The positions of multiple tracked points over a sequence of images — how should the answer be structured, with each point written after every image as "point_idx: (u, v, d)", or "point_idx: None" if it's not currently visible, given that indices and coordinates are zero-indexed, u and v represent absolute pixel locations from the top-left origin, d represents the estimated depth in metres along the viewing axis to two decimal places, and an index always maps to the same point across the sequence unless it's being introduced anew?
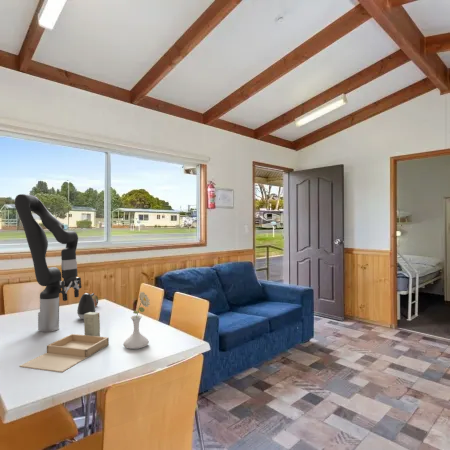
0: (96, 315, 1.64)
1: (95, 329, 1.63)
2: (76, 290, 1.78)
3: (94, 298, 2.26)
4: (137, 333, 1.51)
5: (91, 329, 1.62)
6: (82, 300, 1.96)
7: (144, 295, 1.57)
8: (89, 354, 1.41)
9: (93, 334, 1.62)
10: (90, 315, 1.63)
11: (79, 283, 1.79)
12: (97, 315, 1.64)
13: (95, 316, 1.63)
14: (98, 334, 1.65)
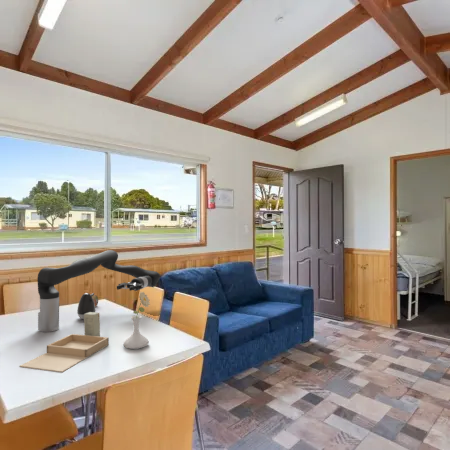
0: (96, 315, 1.64)
1: (95, 329, 1.63)
2: None
3: (94, 298, 2.26)
4: (137, 333, 1.51)
5: (91, 329, 1.62)
6: (82, 300, 1.96)
7: (144, 295, 1.57)
8: (89, 354, 1.41)
9: (93, 334, 1.62)
10: (90, 315, 1.63)
11: (139, 284, 1.96)
12: (97, 315, 1.64)
13: (95, 316, 1.63)
14: (98, 334, 1.65)
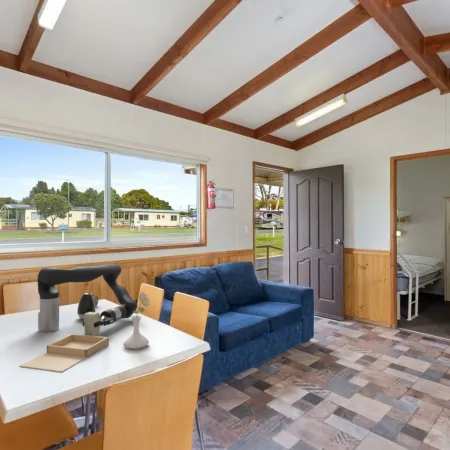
0: (96, 315, 1.64)
1: (95, 329, 1.63)
2: None
3: (94, 298, 2.26)
4: (137, 333, 1.51)
5: (91, 329, 1.62)
6: (82, 300, 1.96)
7: (144, 295, 1.57)
8: (89, 354, 1.41)
9: (93, 334, 1.62)
10: (90, 315, 1.63)
11: (107, 319, 1.68)
12: (97, 315, 1.64)
13: (95, 316, 1.63)
14: (98, 334, 1.65)
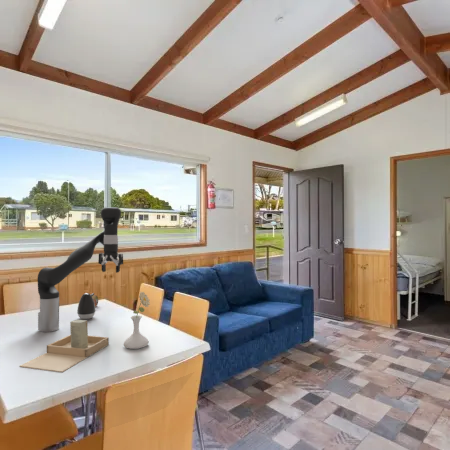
0: (83, 323, 1.48)
1: (83, 339, 1.48)
2: (104, 265, 1.85)
3: (94, 298, 2.26)
4: (137, 333, 1.51)
5: (78, 339, 1.47)
6: (82, 300, 1.96)
7: (144, 295, 1.57)
8: (89, 354, 1.41)
9: (80, 344, 1.47)
10: (77, 323, 1.47)
11: (102, 258, 1.86)
12: (85, 323, 1.49)
13: (82, 324, 1.48)
14: (86, 344, 1.49)
